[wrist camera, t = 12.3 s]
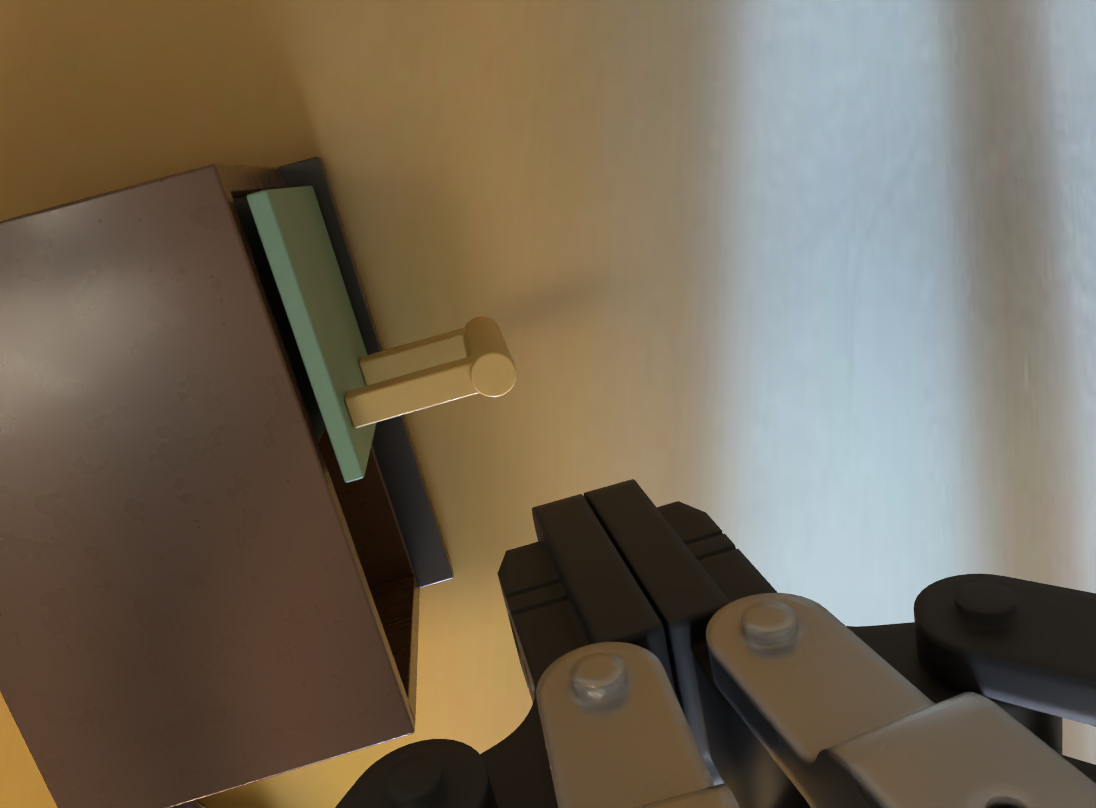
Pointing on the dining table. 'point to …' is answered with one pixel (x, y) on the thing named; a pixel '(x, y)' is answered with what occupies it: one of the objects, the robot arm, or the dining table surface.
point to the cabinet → (191, 506)
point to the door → (336, 344)
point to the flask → (189, 805)
